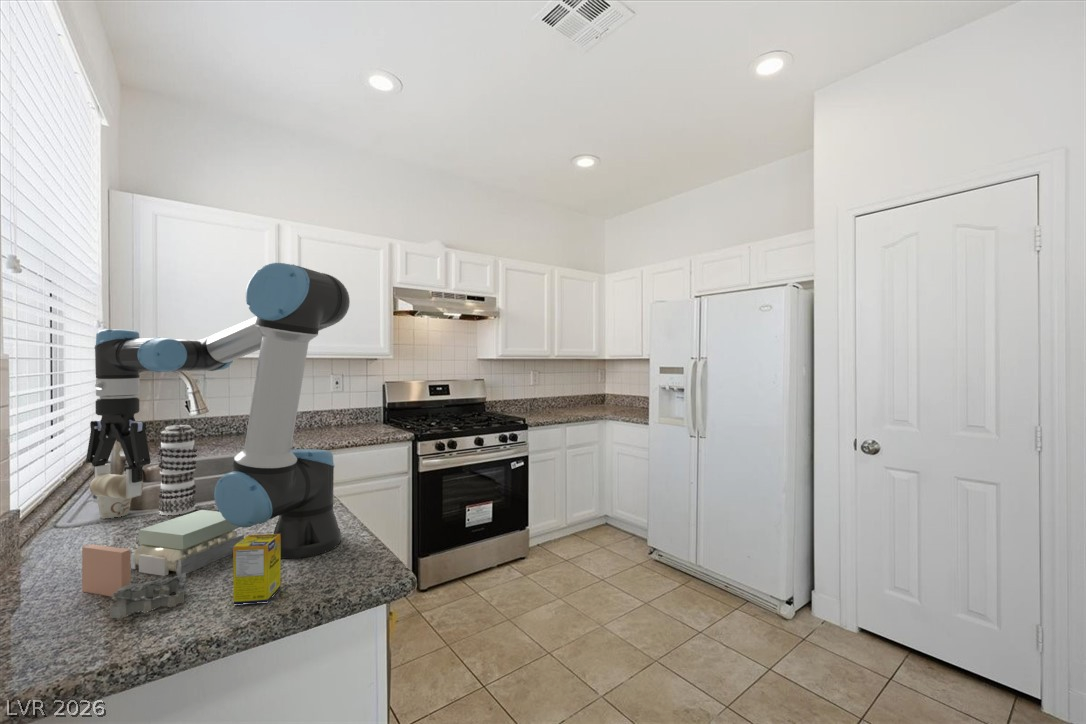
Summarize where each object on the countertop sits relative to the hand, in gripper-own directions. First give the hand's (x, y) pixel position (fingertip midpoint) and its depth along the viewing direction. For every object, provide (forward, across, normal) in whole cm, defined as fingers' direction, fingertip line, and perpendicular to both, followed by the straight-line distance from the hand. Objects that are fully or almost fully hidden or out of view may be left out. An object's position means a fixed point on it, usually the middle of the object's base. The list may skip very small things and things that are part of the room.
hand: (118, 494), depth 108 cm
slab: (+8, +19, +3) cm, 21 cm away
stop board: (+13, +19, -14) cm, 27 cm away
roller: (0, 0, 0) cm, 0 cm away
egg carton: (+14, +31, -15) cm, 37 cm away
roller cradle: (+13, +19, -9) cm, 25 cm away
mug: (+13, -31, +19) cm, 39 cm away
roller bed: (+13, +19, +2) cm, 23 cm away
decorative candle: (+13, -16, +26) cm, 34 cm away
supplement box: (+14, +48, -8) cm, 50 cm away
